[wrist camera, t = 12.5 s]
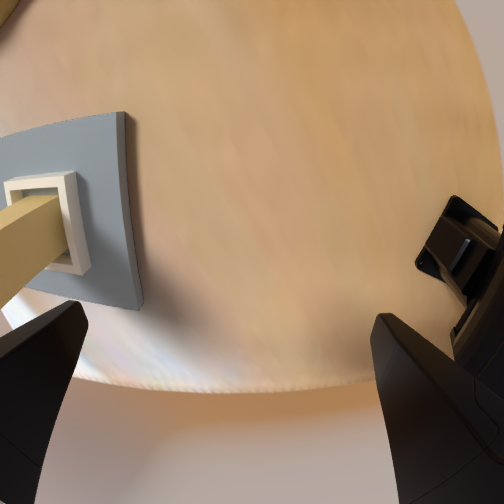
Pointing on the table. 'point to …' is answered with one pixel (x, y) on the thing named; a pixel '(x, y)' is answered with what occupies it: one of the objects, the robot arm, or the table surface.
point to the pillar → (29, 241)
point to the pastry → (6, 9)
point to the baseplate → (79, 205)
